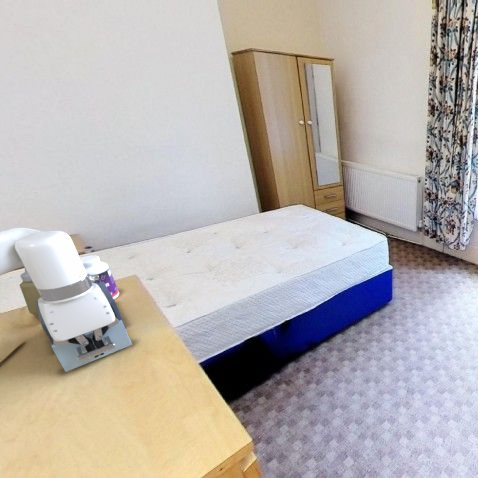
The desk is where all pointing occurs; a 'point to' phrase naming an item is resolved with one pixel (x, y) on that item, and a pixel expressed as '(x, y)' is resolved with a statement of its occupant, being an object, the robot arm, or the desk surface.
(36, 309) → the squeeze bottle
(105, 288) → the dark grey drawer cabinet
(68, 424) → the desk surface
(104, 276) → the pill bottle
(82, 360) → the pull-out drawer
